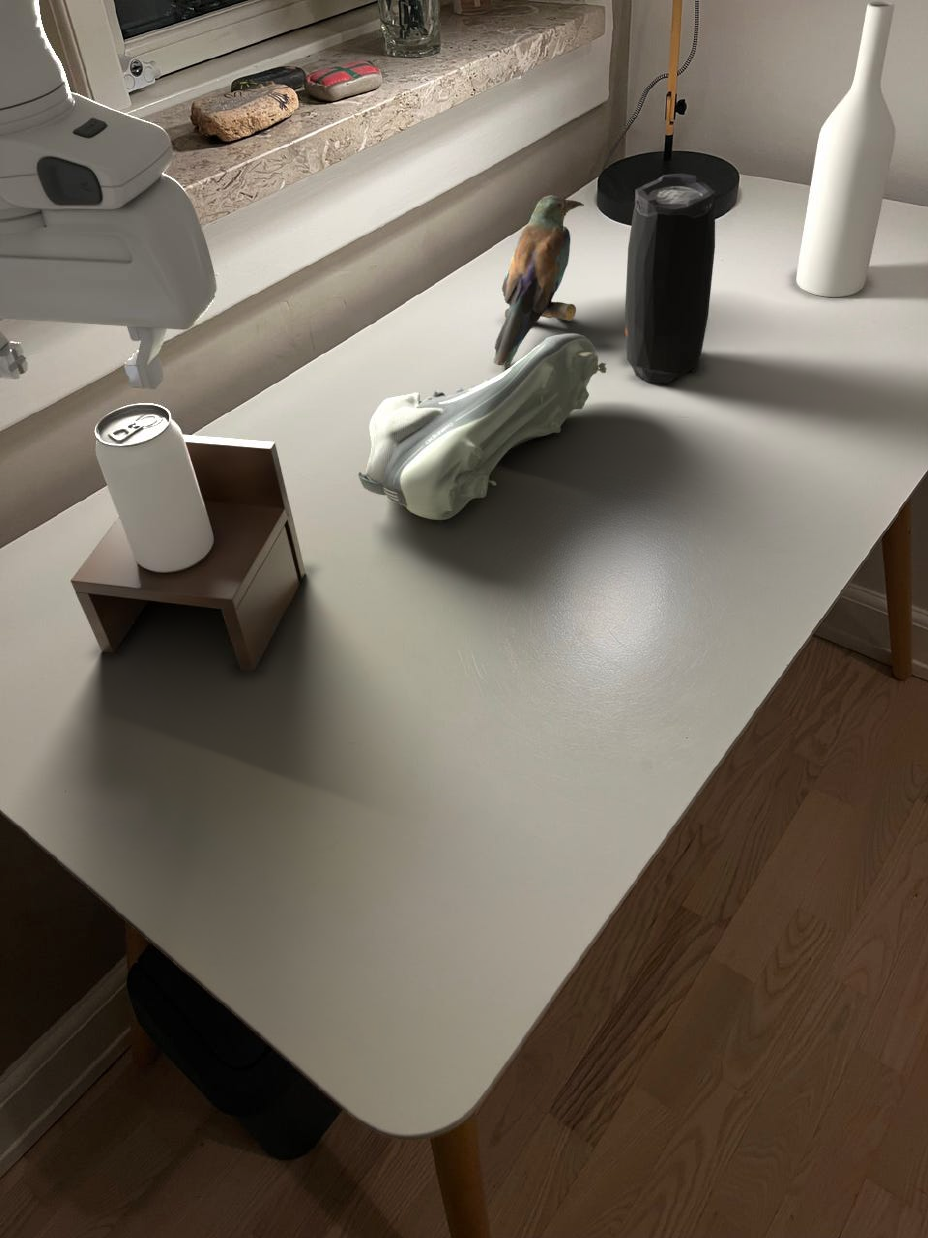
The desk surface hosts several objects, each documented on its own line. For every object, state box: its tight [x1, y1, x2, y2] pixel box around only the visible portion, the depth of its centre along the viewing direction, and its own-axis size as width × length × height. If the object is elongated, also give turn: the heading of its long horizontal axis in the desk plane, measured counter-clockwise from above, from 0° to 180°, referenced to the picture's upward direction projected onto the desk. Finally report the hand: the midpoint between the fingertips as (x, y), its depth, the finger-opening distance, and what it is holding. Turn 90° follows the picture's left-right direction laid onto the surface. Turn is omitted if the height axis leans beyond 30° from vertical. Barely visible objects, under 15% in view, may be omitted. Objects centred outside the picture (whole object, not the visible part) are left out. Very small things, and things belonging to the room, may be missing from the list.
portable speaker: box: [624, 173, 717, 385], centre depth 107 cm, size 9×9×20 cm
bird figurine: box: [493, 194, 585, 369], centre depth 118 cm, size 13×10×20 cm
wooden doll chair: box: [70, 434, 306, 672], centre depth 85 cm, size 14×12×14 cm
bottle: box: [795, 0, 896, 298], centre depth 115 cm, size 8×8×30 cm
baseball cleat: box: [357, 333, 607, 521], centre depth 102 cm, size 10×29×15 cm
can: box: [93, 403, 214, 573], centre depth 80 cm, size 6×6×12 cm
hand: (79, 379), depth 64 cm, fingers open, 8 cm apart
